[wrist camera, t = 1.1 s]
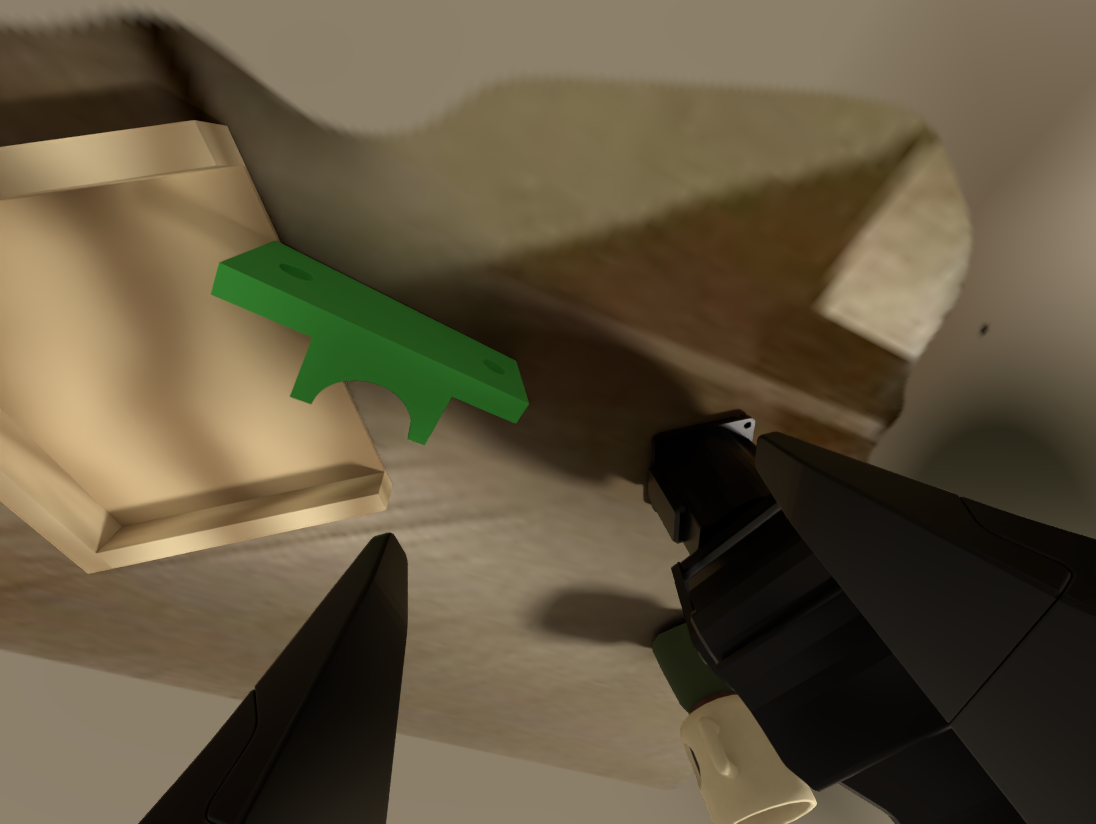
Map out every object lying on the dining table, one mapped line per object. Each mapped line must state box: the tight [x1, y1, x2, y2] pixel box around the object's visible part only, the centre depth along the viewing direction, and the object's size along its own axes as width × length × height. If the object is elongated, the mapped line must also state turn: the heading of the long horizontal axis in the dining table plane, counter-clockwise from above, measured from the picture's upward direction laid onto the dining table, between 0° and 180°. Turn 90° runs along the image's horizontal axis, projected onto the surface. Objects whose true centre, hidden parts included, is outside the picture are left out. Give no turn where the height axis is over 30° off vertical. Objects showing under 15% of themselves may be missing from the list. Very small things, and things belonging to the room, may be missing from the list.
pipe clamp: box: [211, 240, 529, 445], centre depth 17 cm, size 11×4×5 cm, turn 57°
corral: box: [0, 120, 392, 574], centre depth 17 cm, size 15×17×2 cm
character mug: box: [652, 623, 817, 824], centre depth 32 cm, size 11×7×13 cm, turn 37°
